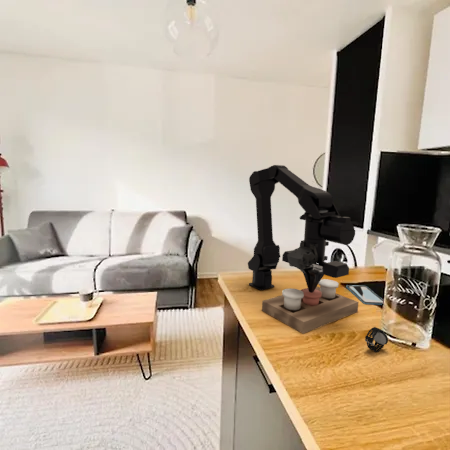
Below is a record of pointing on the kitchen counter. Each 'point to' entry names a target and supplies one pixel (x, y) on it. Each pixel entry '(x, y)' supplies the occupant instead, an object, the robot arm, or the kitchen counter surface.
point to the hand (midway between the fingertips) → (311, 292)
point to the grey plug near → (292, 298)
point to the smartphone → (365, 294)
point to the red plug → (311, 297)
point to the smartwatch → (376, 339)
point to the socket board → (310, 311)
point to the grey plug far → (328, 288)
